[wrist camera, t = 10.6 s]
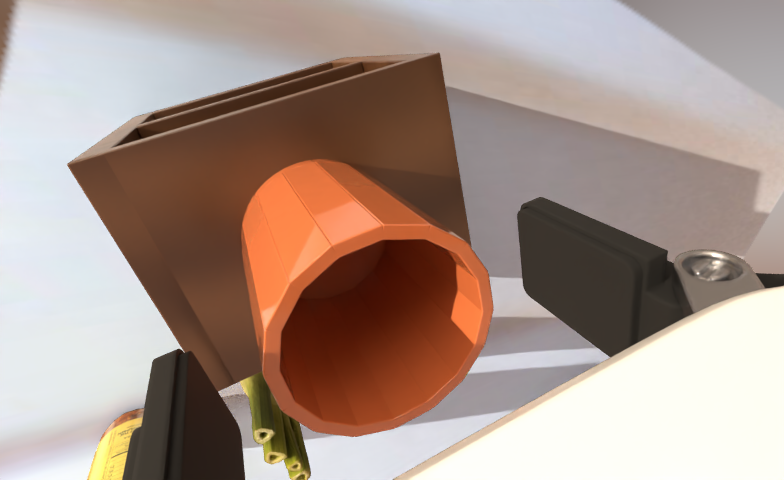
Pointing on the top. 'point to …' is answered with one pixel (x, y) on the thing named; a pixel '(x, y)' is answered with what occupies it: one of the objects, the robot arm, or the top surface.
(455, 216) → the brown wooden organizer box
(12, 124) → the top surface
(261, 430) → the fennel bulb
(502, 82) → the top surface
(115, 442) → the sauce bottle
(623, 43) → the top surface
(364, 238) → the tumbler
